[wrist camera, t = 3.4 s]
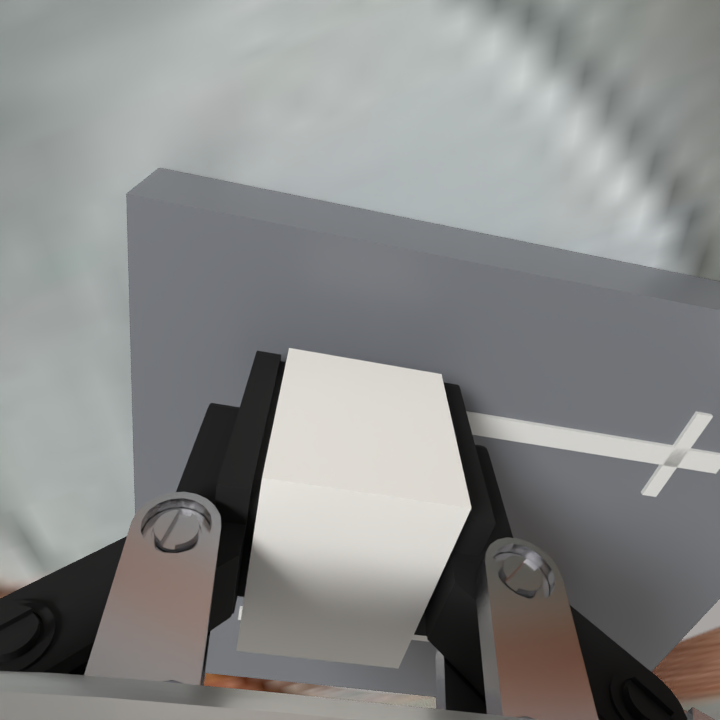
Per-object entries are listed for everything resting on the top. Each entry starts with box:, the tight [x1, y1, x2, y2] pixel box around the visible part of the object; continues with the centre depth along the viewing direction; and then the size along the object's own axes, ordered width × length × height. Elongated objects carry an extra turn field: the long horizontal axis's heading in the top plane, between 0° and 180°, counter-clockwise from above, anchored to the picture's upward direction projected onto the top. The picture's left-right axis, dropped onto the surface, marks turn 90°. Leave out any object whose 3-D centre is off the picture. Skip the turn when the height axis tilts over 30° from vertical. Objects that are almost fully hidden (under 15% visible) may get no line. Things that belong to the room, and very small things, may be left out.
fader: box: [236, 348, 471, 668], centre depth 11 cm, size 3×4×5 cm
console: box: [126, 168, 720, 697], centre depth 17 cm, size 18×17×2 cm
